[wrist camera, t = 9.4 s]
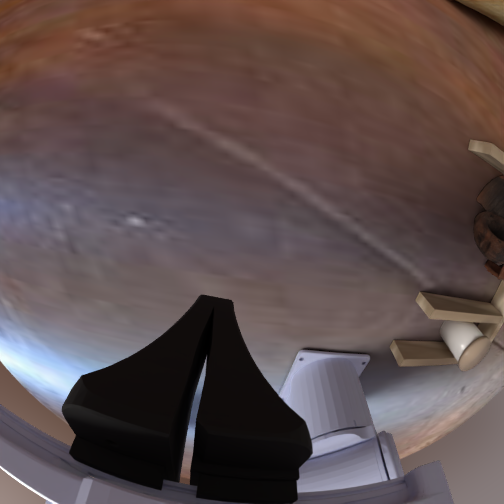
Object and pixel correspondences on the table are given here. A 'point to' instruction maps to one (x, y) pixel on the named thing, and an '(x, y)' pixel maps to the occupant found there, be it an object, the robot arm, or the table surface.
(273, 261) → the table surface
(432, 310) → the bracket
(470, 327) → the cream jar
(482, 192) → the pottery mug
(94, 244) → the table surface
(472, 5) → the bread roll
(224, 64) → the table surface
